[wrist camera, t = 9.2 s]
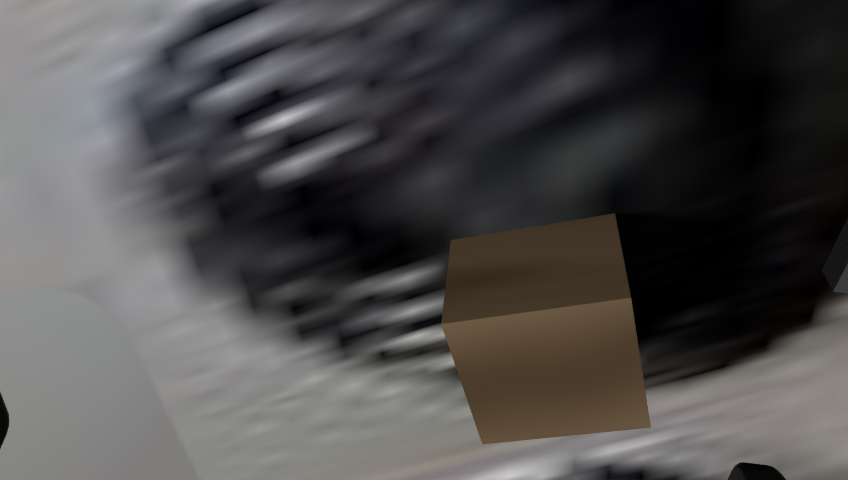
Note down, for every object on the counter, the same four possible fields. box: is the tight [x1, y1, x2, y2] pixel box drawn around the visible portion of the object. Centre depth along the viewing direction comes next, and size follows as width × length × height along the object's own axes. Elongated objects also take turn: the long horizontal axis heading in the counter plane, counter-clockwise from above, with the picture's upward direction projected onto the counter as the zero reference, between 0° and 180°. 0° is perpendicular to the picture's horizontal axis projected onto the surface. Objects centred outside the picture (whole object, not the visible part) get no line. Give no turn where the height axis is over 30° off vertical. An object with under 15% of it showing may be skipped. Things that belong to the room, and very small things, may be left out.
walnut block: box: [441, 213, 651, 444], centre depth 23 cm, size 5×5×4 cm
